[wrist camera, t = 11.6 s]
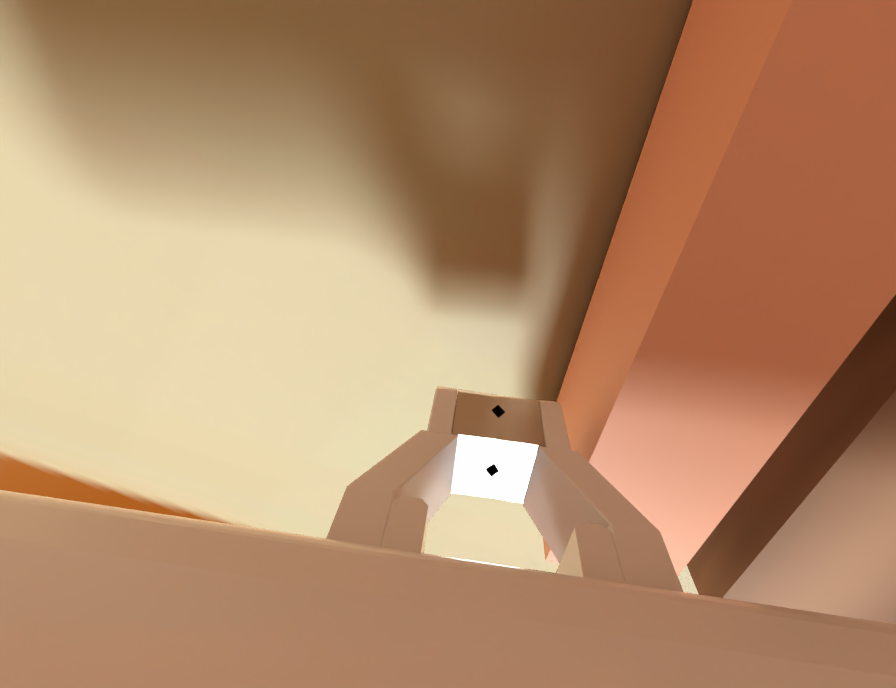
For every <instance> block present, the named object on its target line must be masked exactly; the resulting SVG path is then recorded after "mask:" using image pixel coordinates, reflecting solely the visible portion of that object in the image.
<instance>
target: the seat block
mask: <svg viewBox="0 0 896 688" xmlns="http://www.w3.org/2000/svg"><path fill="white" fill-rule="evenodd" d="M687 566H688V569H689V571H690V574H691V576H692V579H693V581H694V583H695V586H696V588H697V591H698V593H699V595H705V596H712V597H719V598H725V599H732V600H739V601H745V602H752V603H758V604H765V605H772V606H778V607H785V608H792V609H798V610H805V611H812V612H818V613H825V614H832V615H838V616H845V617H852V618H858V619H865V620H871V621H878V622H885V623H891V624H896V294H895V296H894V297H893V298H892V300H891V301H890V302H889V303H888V305H887V306H886V307H885V309H884V310H883V311H882V313H881V314H880V315H879V316H878V318H877V319H876V320H875V322H874V323H873V324H872V325H871V327H870V328H869V329H868V331H867V332H866V333H865V335H864V336H863V337H862V338H861V340H860V341H859V342H858V344H857V345H856V346H855V348H854V349H853V350H852V351H851V353H850V354H849V355H848V357H847V358H846V359H845V360H844V362H843V363H842V364H841V366H840V367H839V368H838V370H837V371H836V372H835V373H834V375H833V376H832V377H831V379H830V380H829V381H828V383H827V384H826V385H825V386H824V388H823V389H822V390H821V392H820V393H819V394H818V395H817V397H816V398H815V399H814V401H813V402H812V403H811V405H810V406H809V407H808V408H807V410H806V411H805V412H804V414H803V415H802V416H801V417H800V419H799V420H798V421H797V423H796V424H795V425H794V427H793V428H792V429H791V430H790V432H789V433H788V434H787V436H786V437H785V438H784V440H783V441H782V442H781V443H780V445H779V446H778V447H777V449H776V450H775V451H774V452H773V454H772V455H771V456H770V458H769V459H768V460H767V462H766V463H765V464H764V465H763V467H762V468H761V469H760V471H759V472H758V473H757V475H756V476H755V477H754V478H753V480H752V481H751V482H750V484H749V485H748V486H747V487H746V489H745V490H744V491H743V493H742V494H741V495H740V497H739V498H738V499H737V500H736V502H735V503H734V504H733V506H732V507H731V508H730V509H729V511H728V512H727V513H726V515H725V516H724V517H723V519H722V520H721V521H720V522H719V524H718V525H717V526H716V528H715V529H714V530H713V532H712V533H711V534H710V535H709V537H708V538H707V539H706V541H705V542H704V543H703V544H702V546H701V547H700V548H699V550H698V551H697V552H696V554H695V555H694V556H693V557H692V559H691V560H690V561H689V563H688V564H687Z"/></svg>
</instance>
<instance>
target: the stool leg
mask: <svg viewBox="0 0 896 688" xmlns="http://www.w3.org/2000/svg"><path fill="white" fill-rule="evenodd" d="M895 294H896V0H693V2H692V5H691V8H690V11H689V14H688V17H687V20H686V22H685V25H684V28H683V31H682V34H681V37H680V40H679V43H678V46H677V49H676V52H675V55H674V58H673V61H672V64H671V67H670V69H669V72H668V75H667V78H666V81H665V84H664V87H663V90H662V93H661V96H660V99H659V102H658V105H657V108H656V111H655V114H654V116H653V119H652V122H651V125H650V128H649V131H648V134H647V137H646V140H645V143H644V146H643V149H642V152H641V155H640V158H639V161H638V163H637V166H636V169H635V172H634V175H633V178H632V181H631V184H630V187H629V190H628V193H627V196H626V199H625V202H624V205H623V207H622V210H621V213H620V216H619V219H618V222H617V225H616V228H615V231H614V234H613V237H612V240H611V243H610V246H609V249H608V252H607V254H606V257H605V260H604V263H603V266H602V269H601V272H600V275H599V278H598V281H597V284H596V287H595V290H594V293H593V296H592V299H591V301H590V304H589V307H588V310H587V313H586V316H585V319H584V322H583V325H582V328H581V331H580V334H579V337H578V340H577V343H576V346H575V348H574V351H573V354H572V357H571V360H570V363H569V366H568V369H567V372H566V375H565V378H564V381H563V384H562V387H561V390H560V393H559V395H558V398H557V401H556V402H559V403H560V404H561V408H562V412H563V416H564V421H565V425H566V430H567V434H568V438H569V443H570V447H571V451H578V452H579V453H580V454H581V455H582V456H583V457H584V458H585V459H586V460H587V461H588V462H589V463H590V464H591V465H592V466H593V467H594V468H595V469H596V470H597V471H598V472H599V473H600V474H601V475H602V476H603V477H604V478H605V479H606V480H607V481H608V482H610V483H611V484H612V485H613V486H614V487H615V488H616V489H617V490H618V491H619V492H620V493H621V494H622V495H623V496H624V497H625V498H626V499H627V500H628V501H629V502H630V503H631V504H632V505H633V506H634V507H635V508H636V509H637V510H638V511H639V512H640V513H641V514H642V515H643V516H644V517H645V518H647V519H648V520H649V521H650V522H651V523H652V524H653V525H654V526H655V527H656V528H657V529H658V530H659V531H660V533H661V535H662V538H663V540H664V543H665V545H666V548H667V551H668V553H669V556H670V558H671V561H672V564H673V566H674V569H675V571H676V574H677V577H678V576H679V574H680V573H681V572H682V570H683V569H684V568H685V567H686V565H687V564H688V563H689V561H690V560H691V559H692V557H693V556H694V555H695V554H696V552H697V551H698V550H699V548H700V547H701V546H702V544H703V543H704V542H705V541H706V539H707V538H708V537H709V535H710V534H711V533H712V532H713V530H714V529H715V528H716V526H717V525H718V524H719V522H720V521H721V520H722V519H723V517H724V516H725V515H726V513H727V512H728V511H729V509H730V508H731V507H732V506H733V504H734V503H735V502H736V500H737V499H738V498H739V497H740V495H741V494H742V493H743V491H744V490H745V489H746V487H747V486H748V485H749V484H750V482H751V481H752V480H753V478H754V477H755V476H756V475H757V473H758V472H759V471H760V469H761V468H762V467H763V465H764V464H765V463H766V462H767V460H768V459H769V458H770V456H771V455H772V454H773V452H774V451H775V450H776V449H777V447H778V446H779V445H780V443H781V442H782V441H783V440H784V438H785V437H786V436H787V434H788V433H789V432H790V430H791V429H792V428H793V427H794V425H795V424H796V423H797V421H798V420H799V419H800V417H801V416H802V415H803V414H804V412H805V411H806V410H807V408H808V407H809V406H810V405H811V403H812V402H813V401H814V399H815V398H816V397H817V395H818V394H819V393H820V392H821V390H822V389H823V388H824V386H825V385H826V384H827V383H828V381H829V380H830V379H831V377H832V376H833V375H834V373H835V372H836V371H837V370H838V368H839V367H840V366H841V364H842V363H843V362H844V360H845V359H846V358H847V357H848V355H849V354H850V353H851V351H852V350H853V349H854V348H855V346H856V345H857V344H858V342H859V341H860V340H861V338H862V337H863V336H864V335H865V333H866V332H867V331H868V329H869V328H870V327H871V325H872V324H873V323H874V322H875V320H876V319H877V318H878V316H879V315H880V314H881V313H882V311H883V310H884V309H885V307H886V306H887V305H888V303H889V302H890V301H891V300H892V298H893V297H894V296H895ZM543 541H544V551H545V560H546V561H550V562H556V563H559V562H558V560H557V559H556V557H555V556H554V554H553V552H552V551H551V549H550V548H549V546H548V544H547V543H546V541H545V540H544V538H543Z"/></svg>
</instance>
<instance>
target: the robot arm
mask: <svg viewBox="0 0 896 688" xmlns="http://www.w3.org/2000/svg"><path fill="white" fill-rule="evenodd" d="M456 398H457V400H456ZM451 493H455V494H464V495H473V496H481V497H489V498H495V499H501V500H507V501H513V502H518V503H523V506H524V508H525V509H526V511H527V512H528V514H529V516H530V517H531V519H532V520H533V522H534V524H535V525H536V527H537V528H538V530H539V532H540V533H541V535H542V536H543V538H544V540H545V541H546V543H547V544H548V546H549V548H550V549H551V551H552V552H553V554H554V556H555V557H556V559H557V560H558V562H559V567H558V569H557V572H556V573H551V572H545V571H538V570H531V569H525V568H518V567H511V566H505V565H498V564H491V563H485V562H478V561H472V560H465V559H458V558H452V557H445V556H438V555H432V554H425V553H424V546H425V535H426V525H427V523H428V522H429V520H430V519H431V518H432V517H433V516H434V514H435V513H436V512H437V511H438V510H439V508H440V507H441V506H442V505H443V504H444V503H445V501H446V500H447V499H448V498H449V497H450V495H451ZM0 688H896V624H891V623H885V622H878V621H871V620H865V619H858V618H852V617H845V616H838V615H832V614H825V613H818V612H812V611H805V610H798V609H792V608H785V607H778V606H772V605H765V604H758V603H752V602H745V601H739V600H732V599H725V598H719V597H712V596H705V595H699V594H692V593H685V592H683V589H682V587H681V584H680V582H679V579H678V577H677V574H676V571H675V569H674V566H673V564H672V561H671V558H670V556H669V553H668V551H667V548H666V545H665V543H664V540H663V538H662V535H661V533H660V531H659V530H658V529H657V528H656V527H655V526H654V525H653V524H652V523H651V522H650V521H649V520H648V519H647V518H645V517H644V516H643V515H642V514H641V513H640V512H639V511H638V510H637V509H636V508H635V507H634V506H633V505H632V504H631V503H630V502H629V501H628V500H627V499H626V498H625V497H624V496H623V495H622V494H621V493H620V492H619V491H618V490H617V489H616V488H615V487H614V486H613V485H612V484H611V483H610V482H608V481H607V480H606V479H605V478H604V477H603V476H602V475H601V474H600V473H599V472H598V471H597V470H596V469H595V468H594V467H593V466H592V465H591V464H590V463H589V462H588V461H587V460H586V459H585V458H584V457H583V456H582V455H581V454H580V453H579V452H578V451H571V447H570V443H569V438H568V434H567V430H566V425H565V421H564V416H563V412H562V408H561V404H560V403H559V402H555V401H545V400H530V399H522V398H514V397H507V396H499V395H494V394H487V393H481V392H474V391H468V390H461V389H458V393H457V389H453V388H446V387H439V386H438V387H437V388H436V391H435V396H434V401H433V405H432V410H431V415H430V419H429V424H428V429H427V431H424V430H421V431H419V432H418V433H417V434H415V435H414V436H413V437H411V438H410V439H409V440H407V441H406V442H405V443H403V444H402V445H401V446H400V447H398V448H397V449H396V450H394V451H393V452H392V453H390V454H389V455H388V456H386V457H385V458H384V459H382V460H381V461H380V462H378V463H377V464H376V465H374V466H373V467H372V468H371V469H369V470H368V471H367V472H365V473H364V474H363V475H361V476H360V477H359V478H357V479H356V480H355V481H353V482H352V483H351V484H349V485H348V486H347V488H346V490H345V493H344V495H343V498H342V500H341V503H340V505H339V508H338V510H337V513H336V515H335V518H334V520H333V523H332V525H331V528H330V531H329V533H328V536H327V538H326V539H325V538H318V537H311V536H305V535H298V534H291V533H285V532H278V531H271V530H265V529H258V528H251V527H245V526H238V525H231V524H225V523H218V522H211V521H205V520H198V519H191V518H184V517H178V516H171V515H164V514H158V513H151V512H144V511H137V510H131V509H124V508H117V507H111V506H104V505H97V504H90V503H84V502H77V501H71V500H64V499H57V498H51V497H44V496H37V495H30V494H24V493H17V492H10V491H4V490H0Z"/></svg>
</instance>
